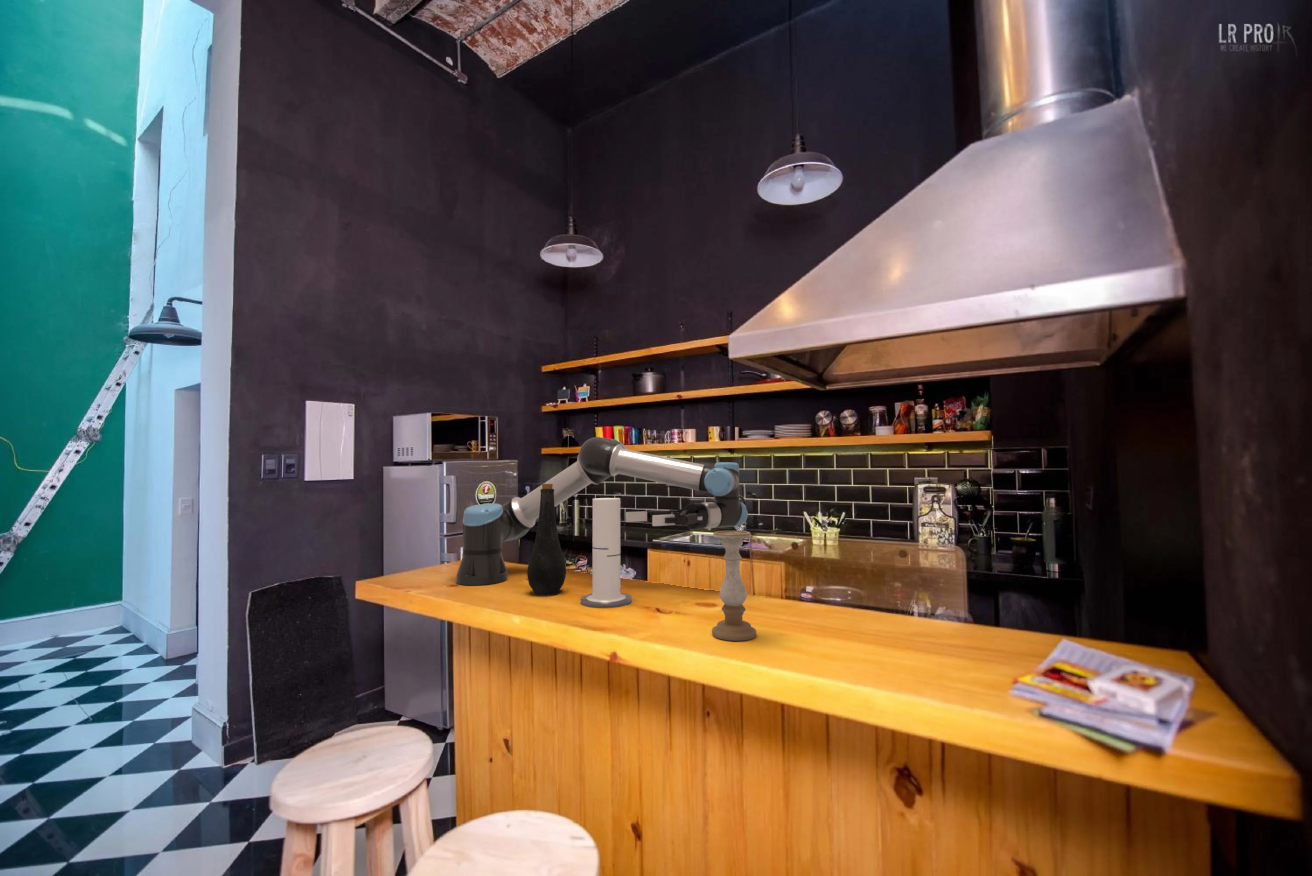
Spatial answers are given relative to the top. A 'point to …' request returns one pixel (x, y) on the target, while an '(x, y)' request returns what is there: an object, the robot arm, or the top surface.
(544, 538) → the bottle
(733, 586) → the candle holder
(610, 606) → the base plate
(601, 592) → the cylindrical container
